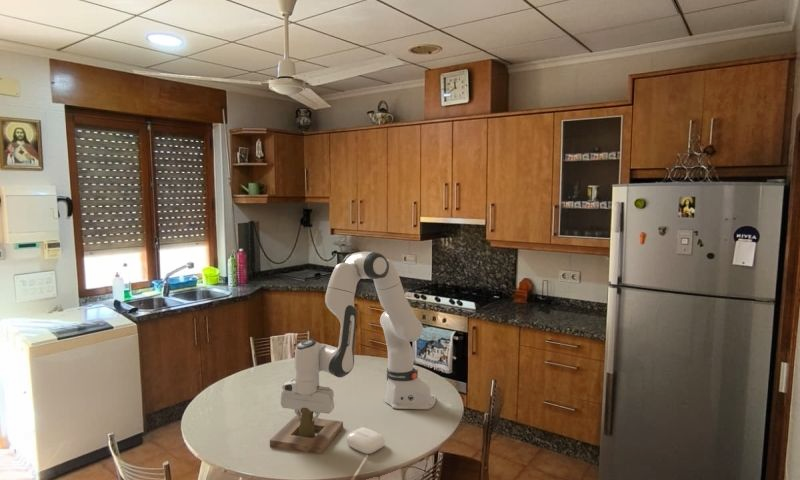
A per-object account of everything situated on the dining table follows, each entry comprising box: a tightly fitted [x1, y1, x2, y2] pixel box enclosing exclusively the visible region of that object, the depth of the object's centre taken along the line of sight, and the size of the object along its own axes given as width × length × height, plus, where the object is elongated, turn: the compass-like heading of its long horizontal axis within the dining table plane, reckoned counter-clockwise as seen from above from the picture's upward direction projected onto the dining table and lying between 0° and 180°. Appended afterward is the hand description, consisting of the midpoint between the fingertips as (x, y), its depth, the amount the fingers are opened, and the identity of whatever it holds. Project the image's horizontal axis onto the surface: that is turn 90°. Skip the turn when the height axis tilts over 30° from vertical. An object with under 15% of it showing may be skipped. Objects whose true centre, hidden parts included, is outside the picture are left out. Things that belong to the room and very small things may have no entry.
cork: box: [298, 408, 316, 438], centre depth 176 cm, size 6×6×11 cm
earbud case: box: [346, 426, 385, 455], centre depth 170 cm, size 10×13×5 cm
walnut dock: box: [269, 415, 344, 455], centre depth 176 cm, size 20×20×3 cm
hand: (307, 421), depth 176 cm, fingers closed on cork, 4 cm apart
